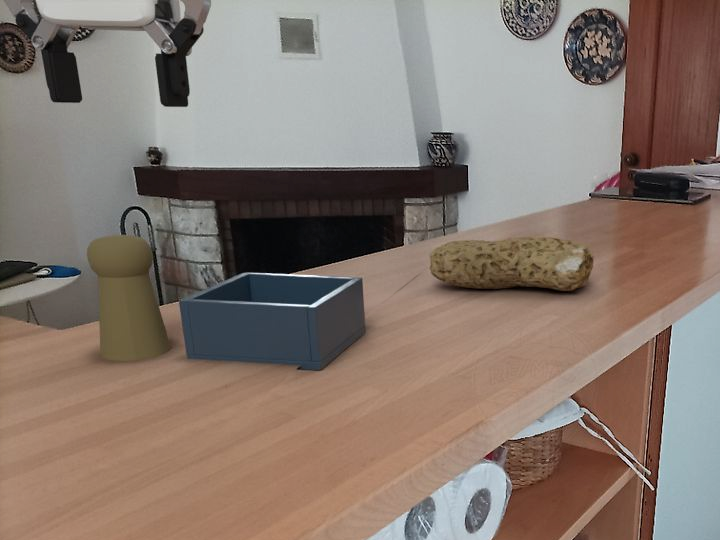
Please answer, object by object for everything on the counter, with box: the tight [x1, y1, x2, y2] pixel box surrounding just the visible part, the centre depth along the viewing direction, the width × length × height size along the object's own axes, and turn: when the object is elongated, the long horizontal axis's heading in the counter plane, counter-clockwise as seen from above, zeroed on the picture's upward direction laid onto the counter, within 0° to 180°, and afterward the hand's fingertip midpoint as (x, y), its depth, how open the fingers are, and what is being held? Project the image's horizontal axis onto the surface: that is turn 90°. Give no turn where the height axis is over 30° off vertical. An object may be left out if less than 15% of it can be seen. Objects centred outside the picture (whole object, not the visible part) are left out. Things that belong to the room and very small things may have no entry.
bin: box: [178, 271, 366, 371], centre depth 75 cm, size 13×13×6 cm
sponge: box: [429, 236, 595, 292], centre depth 101 cm, size 13×8×20 cm
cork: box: [86, 234, 172, 362], centre depth 71 cm, size 6×6×11 cm
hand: (120, 104), depth 66 cm, fingers open, 9 cm apart
